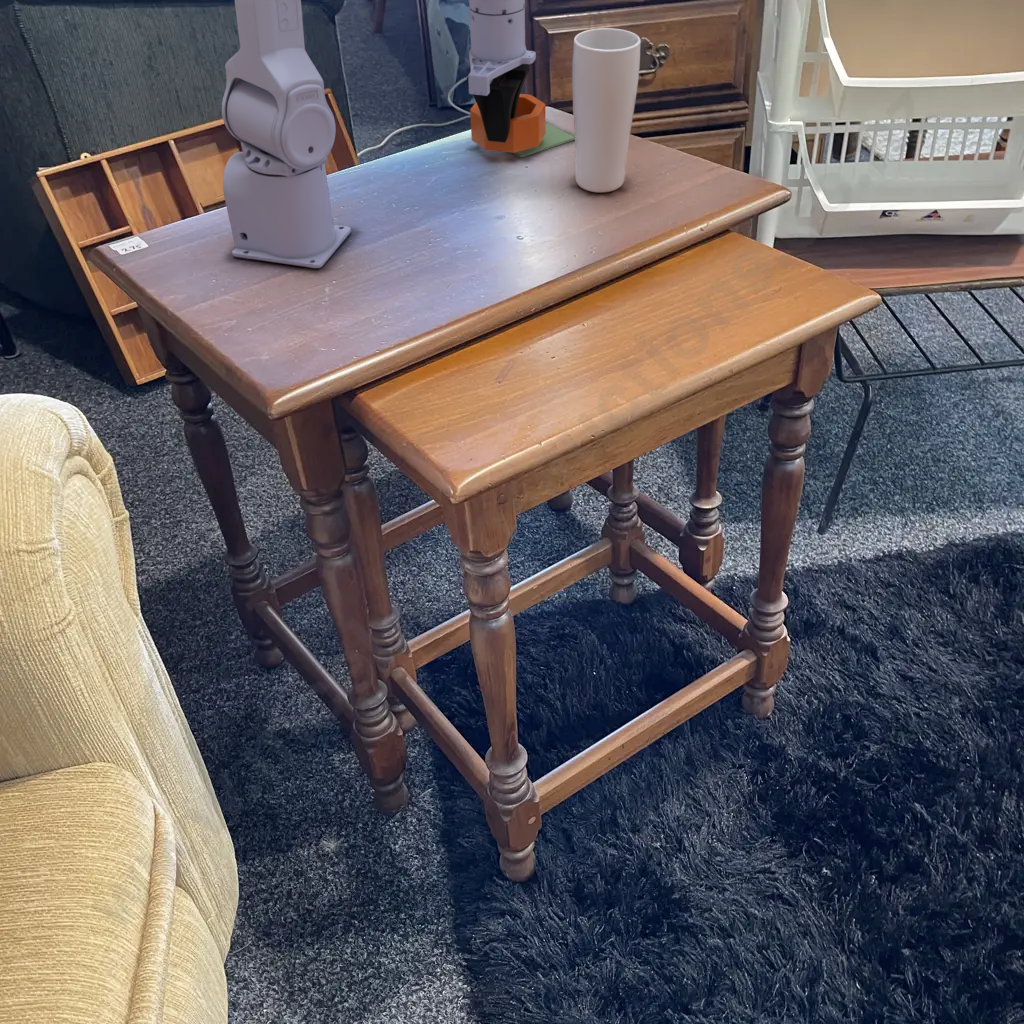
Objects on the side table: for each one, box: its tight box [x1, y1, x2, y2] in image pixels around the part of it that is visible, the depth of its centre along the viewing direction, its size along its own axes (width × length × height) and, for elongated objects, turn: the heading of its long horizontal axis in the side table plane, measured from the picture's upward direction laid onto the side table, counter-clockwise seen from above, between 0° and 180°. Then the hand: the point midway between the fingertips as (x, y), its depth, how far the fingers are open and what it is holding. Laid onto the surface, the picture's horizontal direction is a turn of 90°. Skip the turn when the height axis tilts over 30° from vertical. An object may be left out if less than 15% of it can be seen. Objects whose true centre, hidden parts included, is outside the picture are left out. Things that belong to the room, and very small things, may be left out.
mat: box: [513, 121, 575, 158], centre depth 116 cm, size 8×8×1 cm
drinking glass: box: [571, 27, 642, 194], centre depth 102 cm, size 7×7×15 cm
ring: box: [469, 93, 546, 154], centre depth 113 cm, size 8×8×4 cm
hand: (499, 137), depth 111 cm, fingers closed on ring
